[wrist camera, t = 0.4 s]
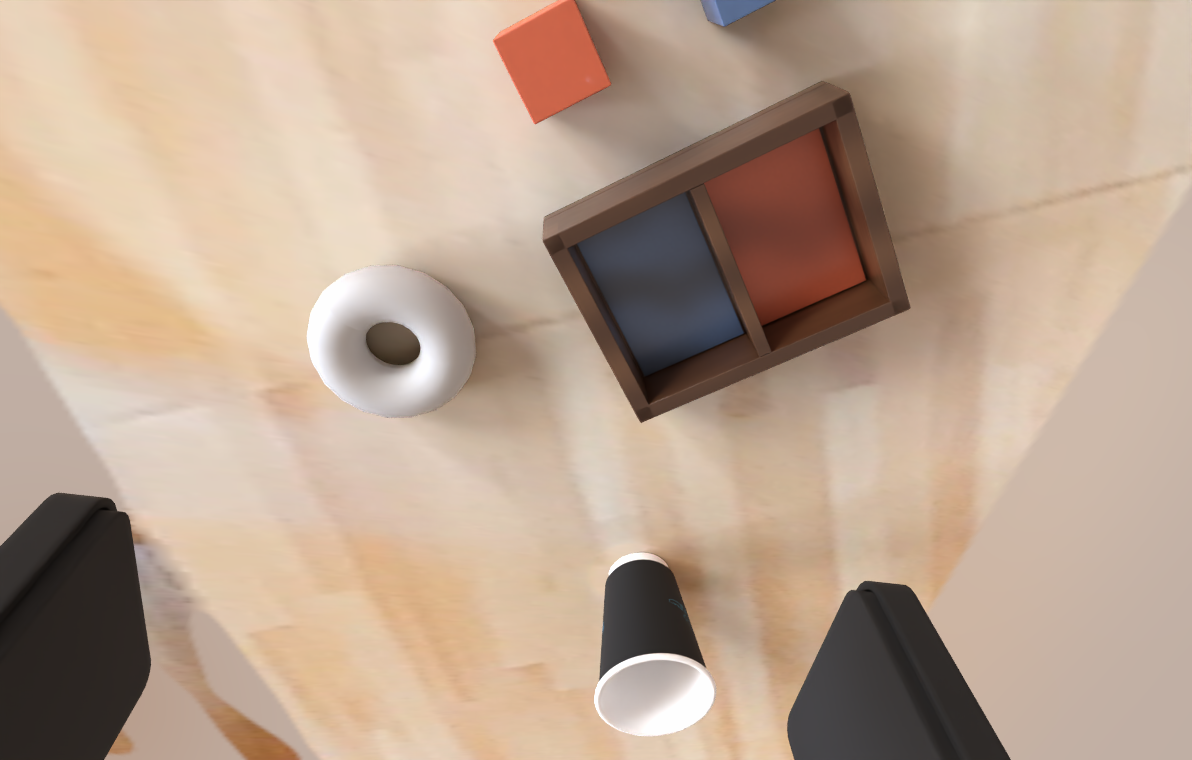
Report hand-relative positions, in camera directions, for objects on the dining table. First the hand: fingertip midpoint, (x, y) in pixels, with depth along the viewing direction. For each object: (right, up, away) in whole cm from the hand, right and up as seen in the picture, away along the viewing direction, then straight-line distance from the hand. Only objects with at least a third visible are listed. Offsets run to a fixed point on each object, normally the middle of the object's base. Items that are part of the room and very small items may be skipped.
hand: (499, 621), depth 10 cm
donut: (-11, +6, +36) cm, 38 cm away
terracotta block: (-1, +20, +29) cm, 35 cm away
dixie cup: (+5, -12, +47) cm, 49 cm away
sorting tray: (+9, +11, +34) cm, 37 cm away
